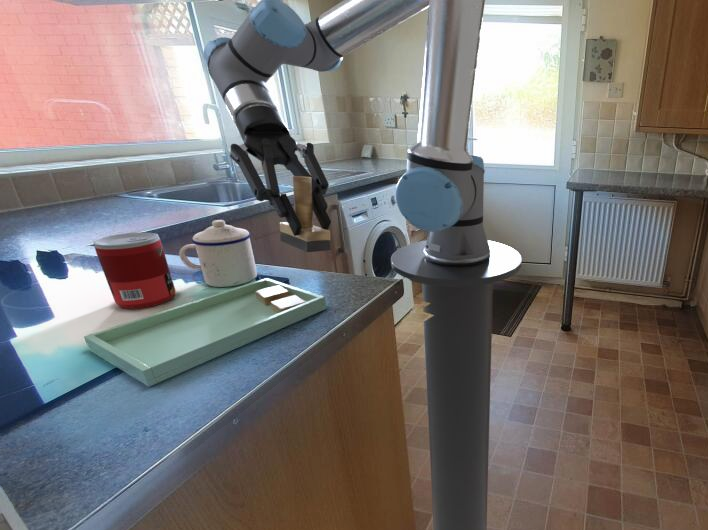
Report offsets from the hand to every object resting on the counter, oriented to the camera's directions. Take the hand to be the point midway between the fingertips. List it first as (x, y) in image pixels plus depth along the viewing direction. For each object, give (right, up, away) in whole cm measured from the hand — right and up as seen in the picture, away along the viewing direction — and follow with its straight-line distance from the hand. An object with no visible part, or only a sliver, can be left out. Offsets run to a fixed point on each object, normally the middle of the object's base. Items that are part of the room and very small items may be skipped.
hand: (312, 228), depth 69 cm
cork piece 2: (-3, -14, -1) cm, 14 cm away
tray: (-11, -16, -6) cm, 20 cm away
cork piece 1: (-8, -12, +2) cm, 15 cm away
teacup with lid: (-23, -9, +11) cm, 27 cm away
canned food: (-29, -12, +2) cm, 32 cm away
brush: (-3, -3, +3) cm, 5 cm away
